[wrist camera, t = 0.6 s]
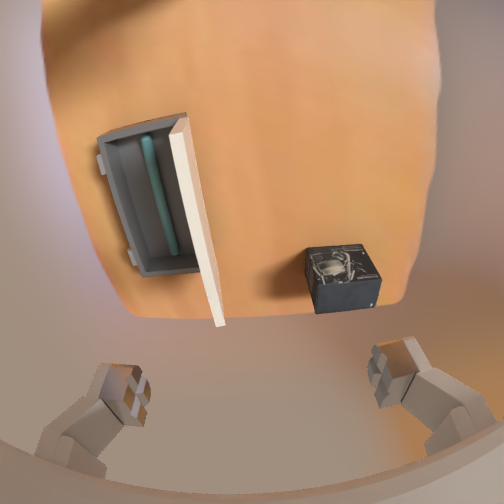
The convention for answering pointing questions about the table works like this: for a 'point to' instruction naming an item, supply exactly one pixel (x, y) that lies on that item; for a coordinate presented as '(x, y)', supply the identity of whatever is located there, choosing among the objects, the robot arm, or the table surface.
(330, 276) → the box
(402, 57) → the table surface
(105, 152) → the trough
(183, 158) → the cover
